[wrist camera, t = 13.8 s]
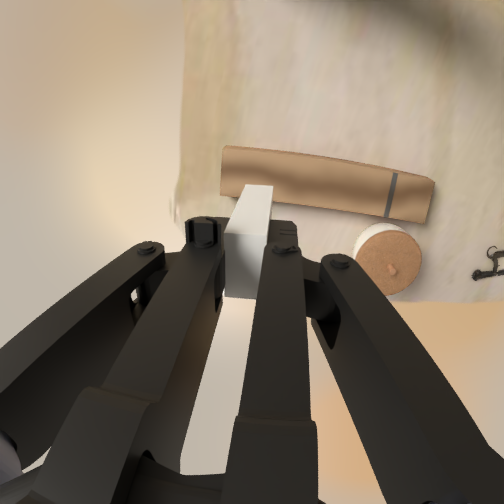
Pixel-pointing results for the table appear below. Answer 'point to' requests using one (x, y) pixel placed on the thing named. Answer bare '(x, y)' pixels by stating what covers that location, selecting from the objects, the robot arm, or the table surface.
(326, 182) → the board
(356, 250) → the lidded jar
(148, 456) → the robot arm
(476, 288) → the table surface
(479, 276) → the hacksaw
